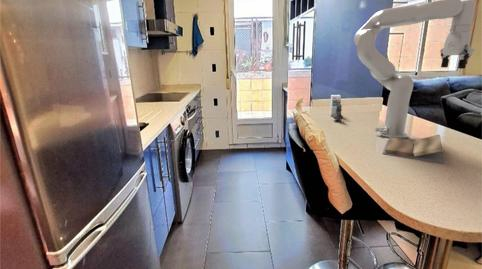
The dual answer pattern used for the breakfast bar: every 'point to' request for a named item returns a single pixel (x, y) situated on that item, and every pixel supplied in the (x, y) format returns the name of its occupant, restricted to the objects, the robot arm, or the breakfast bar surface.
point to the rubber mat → (422, 156)
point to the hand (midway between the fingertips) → (452, 67)
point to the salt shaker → (338, 114)
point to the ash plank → (427, 145)
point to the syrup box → (334, 104)
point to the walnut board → (400, 147)
